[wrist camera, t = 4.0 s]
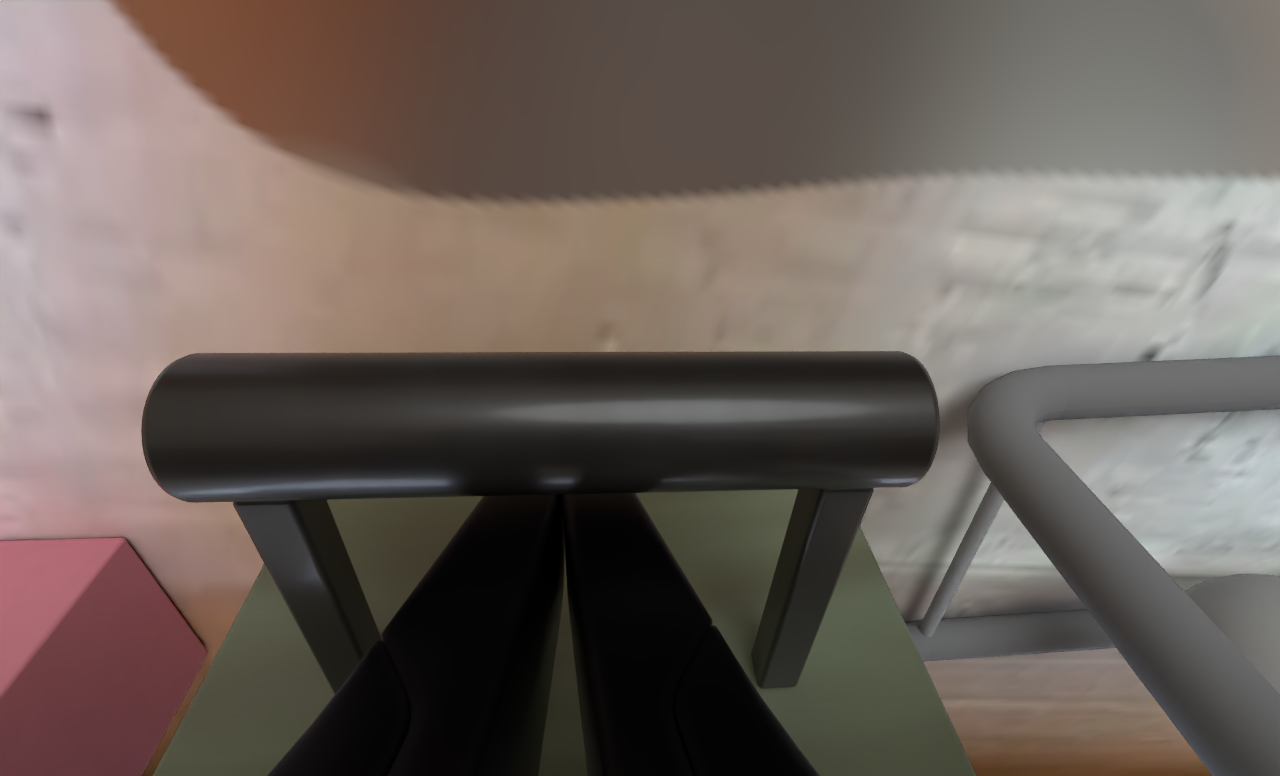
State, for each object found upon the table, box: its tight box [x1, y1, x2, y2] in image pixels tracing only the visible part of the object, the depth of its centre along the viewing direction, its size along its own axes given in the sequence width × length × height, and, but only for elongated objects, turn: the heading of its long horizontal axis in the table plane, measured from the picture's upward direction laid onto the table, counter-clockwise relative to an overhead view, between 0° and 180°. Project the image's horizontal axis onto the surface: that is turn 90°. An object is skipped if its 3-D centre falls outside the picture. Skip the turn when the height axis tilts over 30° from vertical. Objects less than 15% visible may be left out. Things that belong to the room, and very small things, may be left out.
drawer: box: [141, 351, 976, 776], centre depth 12 cm, size 18×11×7 cm, turn 178°
